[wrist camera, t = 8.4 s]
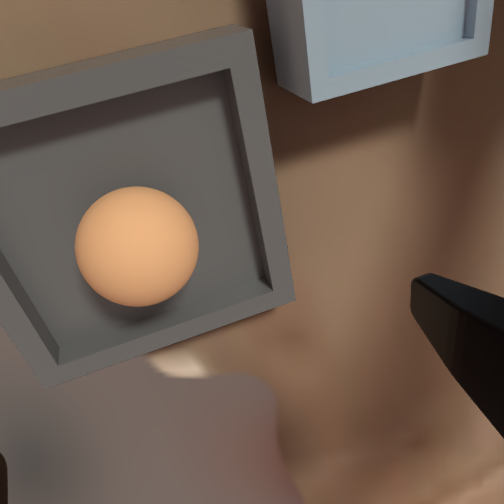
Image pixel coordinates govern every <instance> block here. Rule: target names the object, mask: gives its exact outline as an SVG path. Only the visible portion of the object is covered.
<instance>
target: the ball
mask: <svg viewBox="0 0 504 504" xmlns="http://www.w3.org/2000/svg"><path fill="white" fill-rule="evenodd" d="M198 253H199V241H198V234H197V230H196V228H195V225H194V222H193V220H192V218H191V217H190V215H189V214H188V212H187V211H186V210H185V208H184V207H183V206H182V205H181V204H180V203H179V202H178V201H176V200H175V199H174V198H172V197H171V196H169V195H168V194H166V193H164V192H161V191H159V190H156V189H152V188H148V187H141V186H133V187H125V188H121V189H117V190H114V191H112V192H109V193H108V194H106V195H104V196H102V197H101V198H99V199H98V200H97V201H96V202H95V203H93V204H92V205H91V206H90V207H89V209H88V210H87V211H86V212H85V214H84V216H83V217H82V219H81V221H80V223H79V226H78V228H77V232H76V237H75V256H76V260H77V264H78V267H79V269H80V272H81V274H82V275H83V277H84V279H85V280H86V282H87V283H88V284H89V285H90V286H91V287H92V289H94V290H95V291H96V292H97V293H98V294H100V295H101V296H103V297H104V298H106V299H108V300H110V301H112V302H114V303H117V304H121V305H125V306H133V307H141V306H149V305H154V304H157V303H160V302H162V301H164V300H166V299H168V298H170V297H171V296H173V295H174V294H176V293H177V292H178V291H179V290H180V289H181V288H182V287H183V286H184V285H185V284H186V283H187V281H188V280H189V278H190V277H191V275H192V273H193V271H194V269H195V266H196V263H197V259H198Z"/></svg>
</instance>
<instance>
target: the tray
mask: <svg viewBox="0 0 504 504" xmlns="http://www.w3.org/2000/svg"><path fill="white" fill-rule="evenodd" d="M133 186H141V187H148V188H152V189H156V190H159V191H161V192H164V193H166V194H168V195H169V196H171V197H172V198H174V199H175V200H176V201H178V202H179V203H180V204H181V205H182V206H183V207H184V208H185V210H186V211H187V212H188V214H189V215H190V217H191V218H192V220H193V222H194V225H195V228H196V230H197V234H198V241H199V253H198V259H197V263H196V266H195V269H194V271H193V273H192V275H191V277H190V278H189V280H188V281H187V283H186V284H185V285H184V286H183V287H182V288H181V289H180V290H179V291H178V292H177V293H176V294H174V295H173V296H171V297H170V298H168V299H166V300H164V301H162V302H160V303H157V304H154V305H149V306H141V307H133V306H125V305H121V304H117V303H114V302H112V301H110V300H108V299H106V298H104V297H103V296H101V295H100V294H98V293H97V292H96V291H95V290H94V289H92V287H91V286H90V285H89V284H88V283H87V282H86V280H85V279H84V277H83V275H82V274H81V272H80V269H79V267H78V264H77V260H76V256H75V237H76V232H77V228H78V226H79V223H80V221H81V219H82V217H83V216H84V214H85V212H86V211H87V210H88V209H89V207H90V206H91V205H92V204H93V203H95V202H96V201H97V200H98V199H99V198H101V197H102V196H104V195H106V194H108V193H109V192H112V191H114V190H117V189H121V188H125V187H133ZM295 300H296V299H295V293H294V286H293V280H292V274H291V268H290V261H289V255H288V249H287V242H286V236H285V230H284V224H283V217H282V211H281V205H280V199H279V192H278V186H277V180H276V173H275V167H274V161H273V155H272V148H271V142H270V136H269V130H268V123H267V117H266V111H265V104H264V98H263V92H262V86H261V79H260V73H259V67H258V61H257V54H256V48H255V42H254V35H253V29H250V28H246V27H243V26H239V25H236V24H230V25H226V26H222V27H218V28H214V29H210V30H206V31H202V32H197V33H193V34H189V35H185V36H181V37H177V38H173V39H169V40H164V41H160V42H156V43H152V44H148V45H144V46H140V47H136V48H131V49H127V50H123V51H119V52H115V53H111V54H107V55H102V56H98V57H94V58H90V59H86V60H82V61H78V62H74V63H69V64H65V65H61V66H57V67H53V68H49V69H45V70H41V71H36V72H32V73H28V74H24V75H20V76H16V77H12V78H8V79H3V80H0V324H1V326H2V327H3V329H4V330H5V332H6V333H7V335H8V336H9V338H10V339H11V340H12V342H13V343H14V345H15V346H16V348H17V349H18V351H19V352H20V354H21V355H22V357H23V358H24V359H25V361H26V363H27V364H28V365H29V367H30V368H31V370H32V371H33V373H34V374H35V376H36V377H37V379H38V380H39V381H40V383H41V384H42V386H43V387H44V389H47V388H49V387H52V386H55V385H58V384H61V383H64V382H67V381H69V380H72V379H75V378H78V377H81V376H84V375H86V374H89V373H92V372H95V371H98V370H100V369H103V368H106V367H109V366H112V365H115V364H117V363H120V362H123V361H126V360H129V359H131V358H134V357H137V356H140V355H143V354H146V353H148V352H151V351H154V350H157V349H160V348H162V347H165V346H168V345H171V344H174V343H177V342H179V341H182V340H185V339H188V338H191V337H193V336H196V335H199V334H202V333H205V332H208V331H210V330H213V329H216V328H219V327H222V326H224V325H227V324H230V323H233V322H236V321H239V320H241V319H244V318H247V317H250V316H253V315H255V314H258V313H261V312H264V311H267V310H270V309H272V308H275V307H278V306H281V305H284V304H286V303H289V302H292V301H295Z"/></svg>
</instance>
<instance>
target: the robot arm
mask: <svg viewBox="0 0 504 504" xmlns="http://www.w3.org/2000/svg"><path fill="white" fill-rule="evenodd" d="M410 307H411V312H412V314H413V316H414V318H415V320H416V321H417V323H418V324H419V326H420V327H421V329H422V330H423V332H424V333H425V335H426V337H427V338H428V340H429V341H430V343H431V344H432V346H433V347H434V349H435V350H436V352H437V353H438V355H439V356H440V358H441V360H442V361H443V363H444V364H445V366H446V367H447V368H448V370H449V371H450V373H451V374H452V375H453V377H454V378H455V379H456V381H457V382H458V383H459V384H460V386H461V387H462V388H463V389H464V391H465V392H466V393H467V394H468V395H469V397H470V398H471V399H472V400H473V402H474V403H475V404H476V405H477V406H478V408H479V409H480V410H481V411H482V413H483V414H484V415H485V416H486V417H487V419H488V420H489V421H490V422H491V424H492V425H493V426H494V427H495V428H496V430H497V431H498V432H499V433H500V435H501V436H502V437H503V438H504V298H503V297H500V296H497V295H494V294H491V293H489V292H486V291H483V290H480V289H477V288H474V287H471V286H468V285H465V284H462V283H459V282H456V281H453V280H450V279H447V278H445V277H442V276H439V275H436V274H432V273H428V274H425V275H422V276H419V277H416V278H414V279H413V280H412V282H411V303H410ZM0 504H8V478H7V463H6V460H5V458H4V457H3V455H2V454H1V453H0Z"/></svg>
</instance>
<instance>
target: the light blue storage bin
mask: <svg viewBox="0 0 504 504" xmlns="http://www.w3.org/2000/svg"><path fill="white" fill-rule="evenodd" d="M266 5H267V12H268V20H269V27H270V34H271V41H272V48H273V55H274V63H275V70H276V77H277V84H278V85H279V86H280V87H282V88H284V89H286V90H288V91H290V92H291V93H293V94H295V95H297V96H299V97H301V98H303V99H304V100H306V101H308V102H310V103H312V104H313V103H317V102H320V101H324V100H328V99H331V98H335V97H338V96H342V95H345V94H349V93H353V92H356V91H360V90H363V89H367V88H370V87H374V86H377V85H381V84H385V83H388V82H392V81H395V80H399V79H402V78H406V77H410V76H413V75H417V74H420V73H424V72H427V71H431V70H434V69H438V68H442V67H445V66H449V65H452V64H456V63H459V62H463V61H467V60H470V59H474V58H477V57H481V56H484V55H488V50H489V41H490V33H491V24H492V15H493V7H494V0H266Z"/></svg>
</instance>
